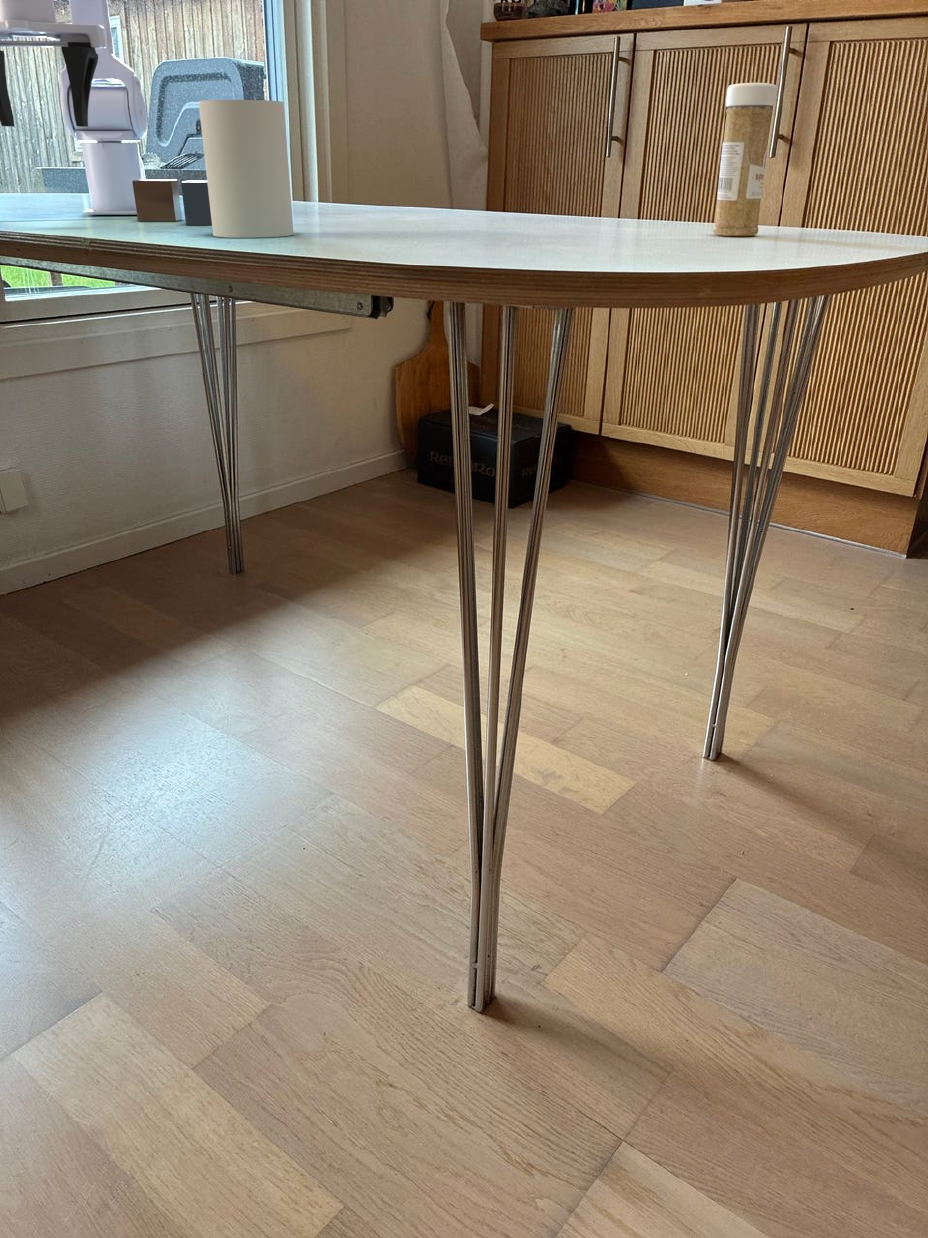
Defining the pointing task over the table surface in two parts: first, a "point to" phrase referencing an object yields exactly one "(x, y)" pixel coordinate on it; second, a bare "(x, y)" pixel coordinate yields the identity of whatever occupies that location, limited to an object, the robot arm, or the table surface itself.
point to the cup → (247, 168)
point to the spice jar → (743, 158)
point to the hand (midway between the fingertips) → (45, 126)
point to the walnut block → (157, 200)
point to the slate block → (196, 203)
